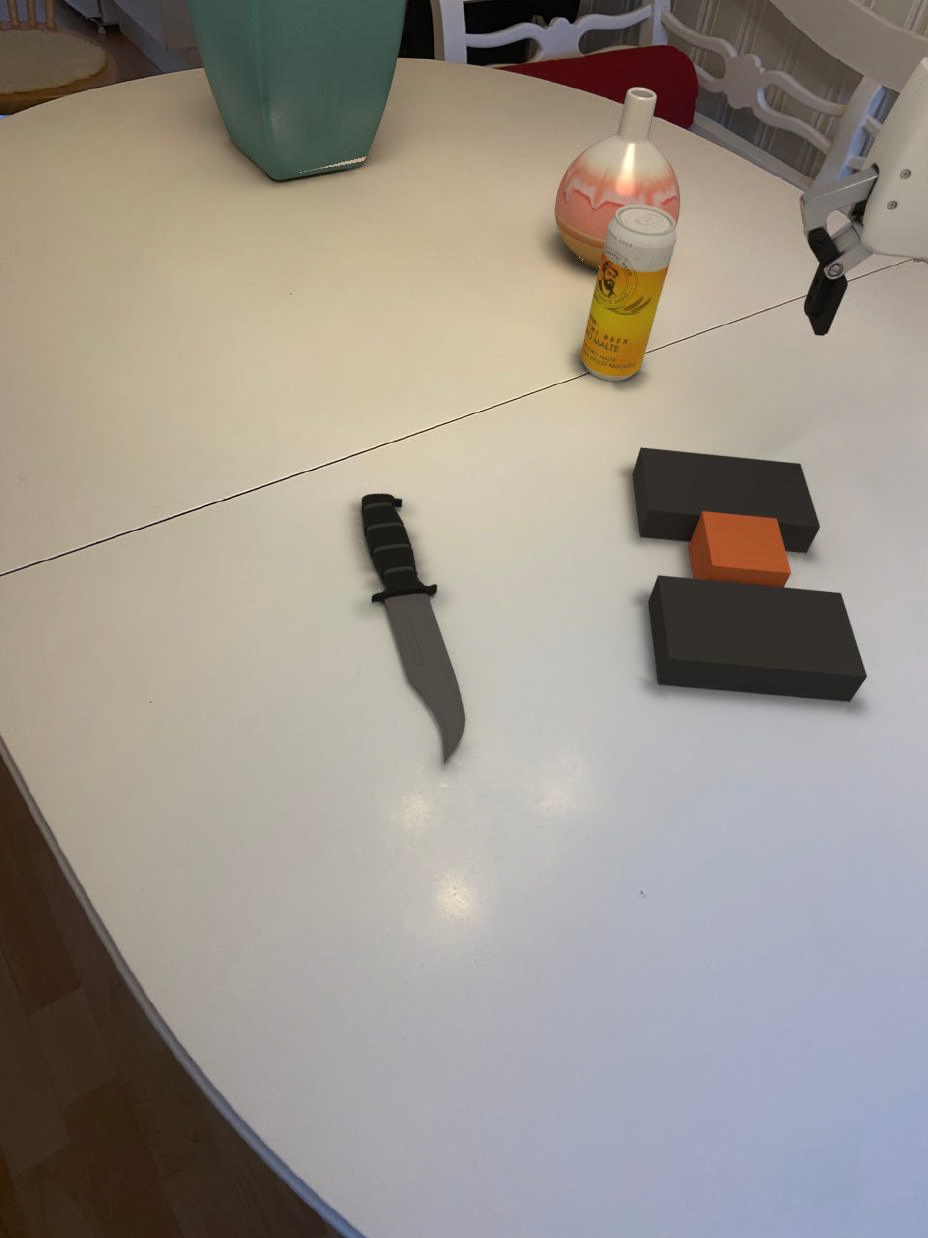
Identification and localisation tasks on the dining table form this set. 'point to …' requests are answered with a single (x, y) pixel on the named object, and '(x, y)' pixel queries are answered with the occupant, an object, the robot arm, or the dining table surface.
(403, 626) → the knife
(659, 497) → the pads
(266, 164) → the flower pot
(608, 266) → the beer can
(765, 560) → the link piece
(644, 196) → the vase
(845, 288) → the robot arm
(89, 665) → the dining table surface
